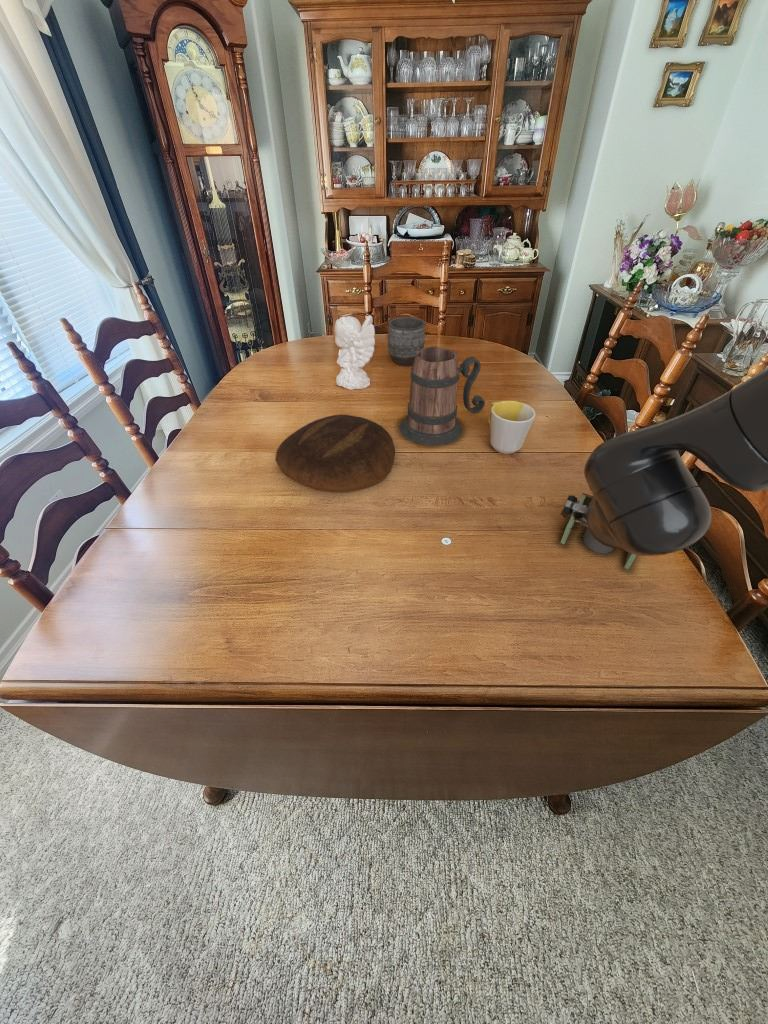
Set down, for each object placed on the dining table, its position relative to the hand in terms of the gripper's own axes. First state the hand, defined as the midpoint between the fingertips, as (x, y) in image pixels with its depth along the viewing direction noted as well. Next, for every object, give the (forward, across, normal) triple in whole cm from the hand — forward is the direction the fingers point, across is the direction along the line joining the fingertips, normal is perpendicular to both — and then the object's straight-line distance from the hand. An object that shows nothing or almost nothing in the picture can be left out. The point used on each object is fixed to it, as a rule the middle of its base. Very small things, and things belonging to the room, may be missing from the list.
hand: (611, 528), depth 66 cm
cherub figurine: (+41, +82, -22) cm, 94 cm away
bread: (+15, +60, +5) cm, 62 cm away
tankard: (+35, +46, -15) cm, 60 cm away
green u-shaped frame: (+20, 0, 0) cm, 20 cm away
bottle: (+19, 0, +1) cm, 19 cm away
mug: (+35, +29, -15) cm, 48 cm away
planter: (+57, +77, -37) cm, 102 cm away
